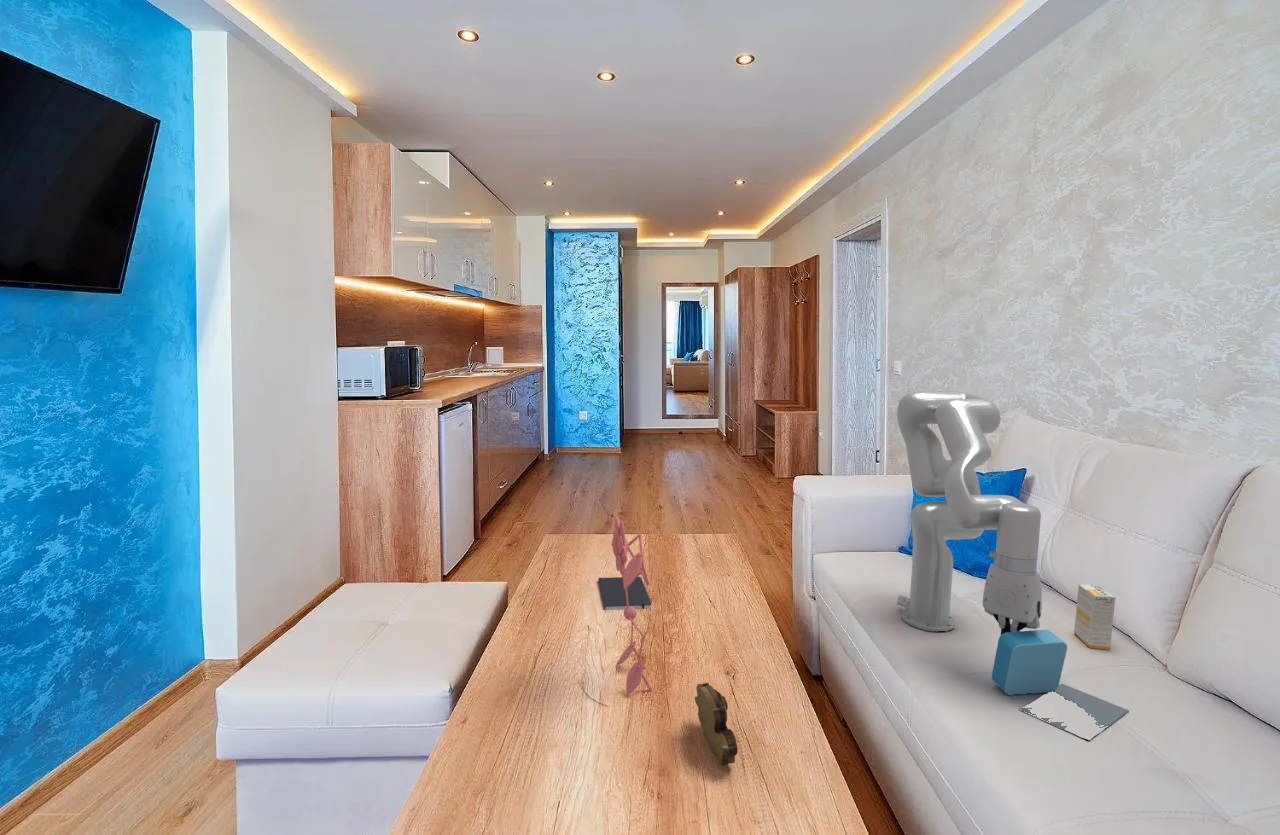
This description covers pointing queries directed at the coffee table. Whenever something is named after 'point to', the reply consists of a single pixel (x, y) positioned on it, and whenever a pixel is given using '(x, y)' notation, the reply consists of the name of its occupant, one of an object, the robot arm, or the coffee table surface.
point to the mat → (1088, 706)
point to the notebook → (623, 594)
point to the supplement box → (1094, 616)
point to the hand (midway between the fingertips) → (1008, 647)
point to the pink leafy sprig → (630, 613)
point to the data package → (1029, 662)
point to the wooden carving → (716, 723)
